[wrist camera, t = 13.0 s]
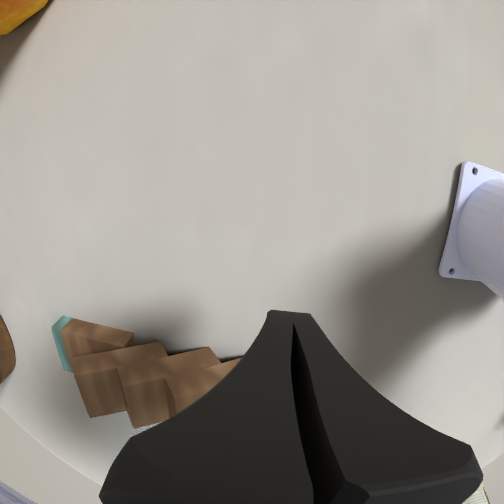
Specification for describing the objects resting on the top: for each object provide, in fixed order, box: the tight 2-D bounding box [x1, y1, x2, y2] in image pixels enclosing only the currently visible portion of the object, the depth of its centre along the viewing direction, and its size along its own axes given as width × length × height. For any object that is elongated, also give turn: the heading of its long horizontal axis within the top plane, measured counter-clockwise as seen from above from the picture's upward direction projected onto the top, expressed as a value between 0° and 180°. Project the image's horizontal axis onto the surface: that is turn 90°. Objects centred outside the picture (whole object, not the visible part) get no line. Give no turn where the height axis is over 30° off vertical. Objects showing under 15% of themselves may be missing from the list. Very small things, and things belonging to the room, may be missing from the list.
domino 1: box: [51, 316, 135, 373], centre depth 23 cm, size 2×5×7 cm
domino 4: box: [165, 358, 241, 418], centre depth 20 cm, size 2×5×7 cm
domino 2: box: [72, 341, 168, 418], centre depth 20 cm, size 2×5×7 cm
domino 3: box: [117, 347, 221, 428], centre depth 20 cm, size 2×5×7 cm
